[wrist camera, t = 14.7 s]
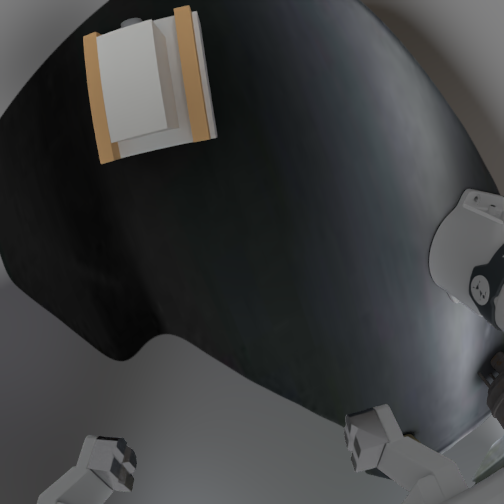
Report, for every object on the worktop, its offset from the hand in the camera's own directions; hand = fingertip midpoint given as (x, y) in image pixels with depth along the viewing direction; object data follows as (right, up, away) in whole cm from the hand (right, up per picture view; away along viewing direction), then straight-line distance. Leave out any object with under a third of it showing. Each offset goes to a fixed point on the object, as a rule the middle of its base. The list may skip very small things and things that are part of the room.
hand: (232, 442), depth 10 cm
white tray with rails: (-10, +25, +21) cm, 34 cm away
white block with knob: (-10, +23, +17) cm, 30 cm away
